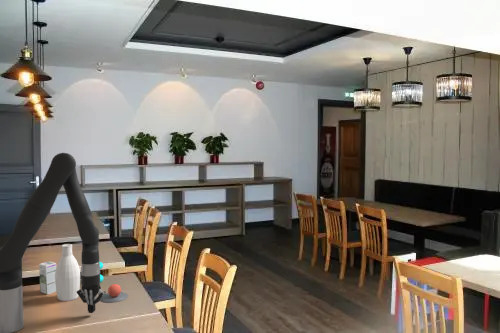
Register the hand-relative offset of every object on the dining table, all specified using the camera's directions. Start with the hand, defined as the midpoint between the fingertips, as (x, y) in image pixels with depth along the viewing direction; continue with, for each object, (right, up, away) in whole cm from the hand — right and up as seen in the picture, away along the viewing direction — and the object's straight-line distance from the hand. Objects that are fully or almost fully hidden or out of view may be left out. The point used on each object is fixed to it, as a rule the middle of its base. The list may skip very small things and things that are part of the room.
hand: (91, 312), depth 182 cm
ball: (+3, +3, +22) cm, 22 cm away
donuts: (-15, +1, +42) cm, 45 cm away
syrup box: (-31, 0, +28) cm, 42 cm away
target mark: (+3, 0, +21) cm, 21 cm away
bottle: (-19, 0, +20) cm, 27 cm away
